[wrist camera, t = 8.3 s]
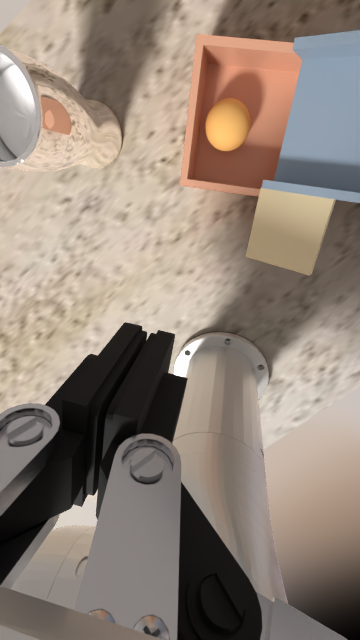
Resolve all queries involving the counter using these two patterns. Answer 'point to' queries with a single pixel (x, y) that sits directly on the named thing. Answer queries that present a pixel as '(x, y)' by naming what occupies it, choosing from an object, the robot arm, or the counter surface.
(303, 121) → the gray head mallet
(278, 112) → the shallow terracotta crate
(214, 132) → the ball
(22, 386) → the counter surface
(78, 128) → the beer glass
